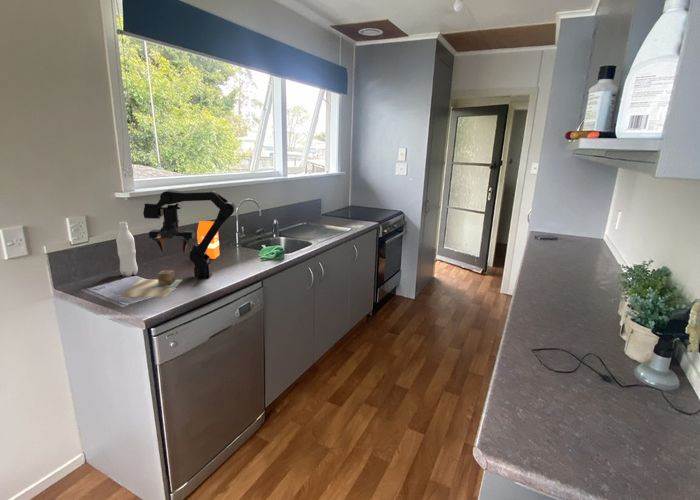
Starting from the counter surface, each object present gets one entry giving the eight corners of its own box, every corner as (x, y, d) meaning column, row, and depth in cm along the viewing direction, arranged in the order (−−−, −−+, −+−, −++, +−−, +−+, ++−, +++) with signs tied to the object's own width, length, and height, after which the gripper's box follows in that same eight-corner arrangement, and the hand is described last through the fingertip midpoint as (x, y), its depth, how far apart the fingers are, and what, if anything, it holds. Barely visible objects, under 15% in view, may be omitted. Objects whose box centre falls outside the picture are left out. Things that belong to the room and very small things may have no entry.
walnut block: (175, 281, 164) (174, 270, 163) (170, 285, 160) (169, 274, 158) (163, 281, 164) (162, 270, 163) (158, 285, 159) (157, 274, 158)
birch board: (183, 281, 167) (182, 279, 167) (166, 299, 148) (165, 296, 148) (141, 281, 166) (140, 279, 165) (118, 299, 146) (118, 296, 146)
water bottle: (125, 272, 176) (118, 220, 170) (141, 272, 177) (135, 220, 171) (117, 277, 170) (110, 223, 163) (134, 277, 170) (127, 224, 164)
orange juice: (214, 259, 202) (212, 223, 197) (198, 258, 202) (195, 222, 197) (219, 255, 210) (217, 220, 204) (204, 254, 210) (201, 219, 204)
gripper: (140, 221, 157) (144, 257, 161) (186, 222, 159) (189, 257, 163) (151, 217, 167) (155, 250, 171) (194, 218, 169) (197, 250, 173)
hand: (173, 252), depth 169 cm, fingers open, 9 cm apart
